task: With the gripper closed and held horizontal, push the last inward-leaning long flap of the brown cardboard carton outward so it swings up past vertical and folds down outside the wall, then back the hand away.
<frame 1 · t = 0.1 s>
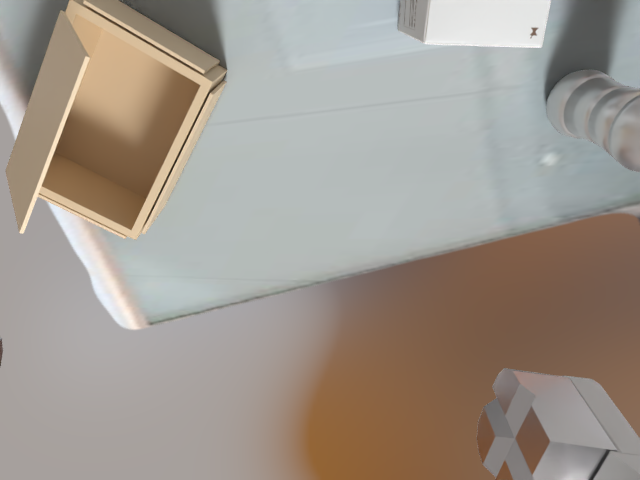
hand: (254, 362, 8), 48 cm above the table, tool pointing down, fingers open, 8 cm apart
plastic bottle: (569, 98, 54), on the table
flap: (41, 122, 42), point 12 cm above the table, hinge at -35.0°
carton: (134, 113, 54), on the table
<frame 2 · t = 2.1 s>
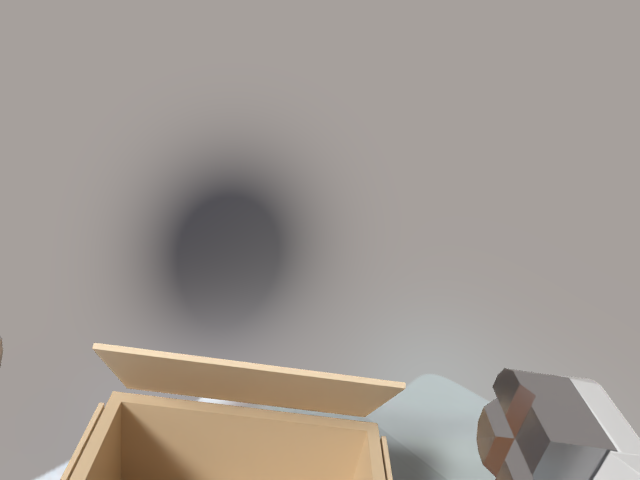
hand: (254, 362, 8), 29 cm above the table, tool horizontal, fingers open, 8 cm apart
flap: (250, 385, 30), point 12 cm above the table, hinge at -35.0°
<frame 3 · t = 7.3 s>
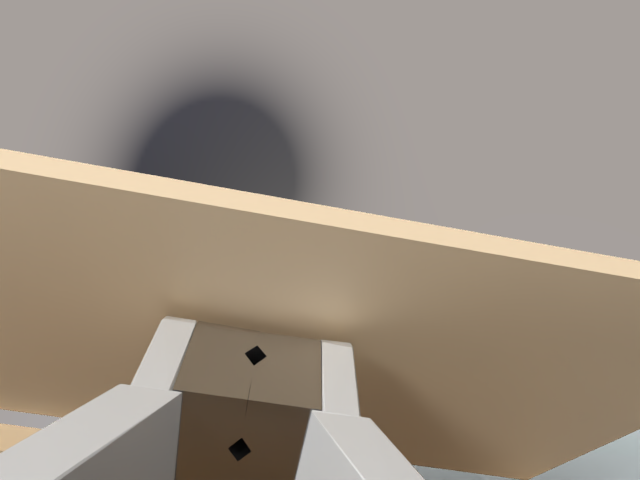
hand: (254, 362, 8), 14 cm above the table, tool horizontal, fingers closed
flap: (253, 364, 10), point 13 cm above the table, hinge at -26.8°, touching gripper
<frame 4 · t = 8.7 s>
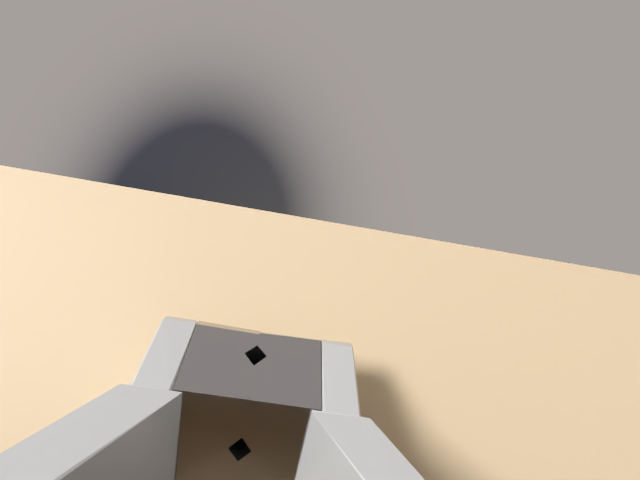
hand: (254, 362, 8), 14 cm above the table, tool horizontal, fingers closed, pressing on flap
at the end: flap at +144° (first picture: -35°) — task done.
